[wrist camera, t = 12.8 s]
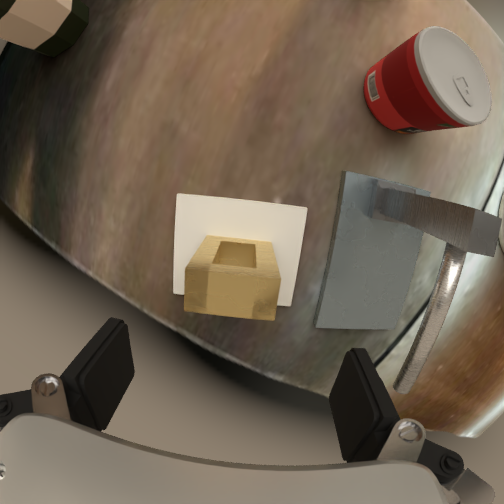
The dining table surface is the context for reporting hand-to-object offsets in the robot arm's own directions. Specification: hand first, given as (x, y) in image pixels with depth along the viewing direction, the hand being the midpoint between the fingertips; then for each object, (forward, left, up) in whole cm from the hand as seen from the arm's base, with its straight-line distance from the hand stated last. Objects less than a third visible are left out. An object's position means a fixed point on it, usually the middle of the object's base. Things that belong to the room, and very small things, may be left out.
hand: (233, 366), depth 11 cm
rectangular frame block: (+1, 0, -16) cm, 16 cm away
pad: (+1, 0, -17) cm, 17 cm away
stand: (-13, -1, -17) cm, 21 cm away
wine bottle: (+26, -26, -17) cm, 40 cm away
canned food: (-13, -18, -17) cm, 28 cm away
